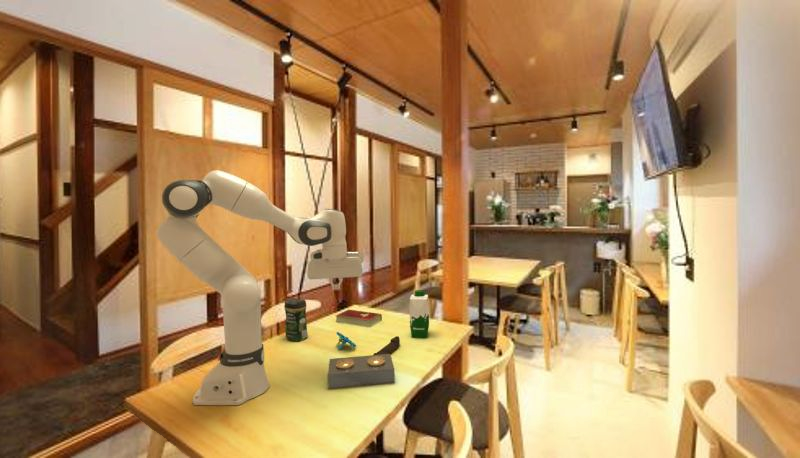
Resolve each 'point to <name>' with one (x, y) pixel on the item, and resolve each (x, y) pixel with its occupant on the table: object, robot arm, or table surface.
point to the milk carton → (419, 314)
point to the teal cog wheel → (344, 341)
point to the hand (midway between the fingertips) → (336, 289)
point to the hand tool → (390, 346)
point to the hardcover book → (358, 318)
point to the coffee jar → (295, 319)
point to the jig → (359, 372)
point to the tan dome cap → (376, 361)
